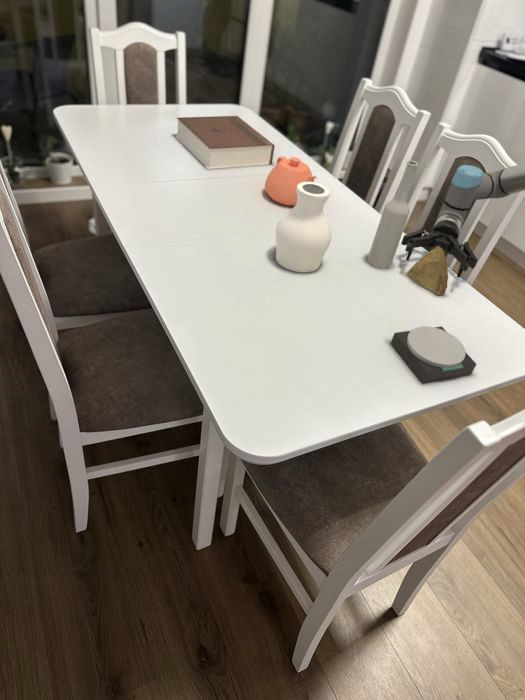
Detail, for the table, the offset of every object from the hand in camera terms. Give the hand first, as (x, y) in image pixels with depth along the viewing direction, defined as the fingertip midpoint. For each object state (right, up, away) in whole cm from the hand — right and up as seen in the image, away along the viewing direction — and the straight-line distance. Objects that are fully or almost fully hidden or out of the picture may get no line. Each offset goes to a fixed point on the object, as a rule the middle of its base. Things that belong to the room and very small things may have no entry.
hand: (434, 264), depth 139 cm
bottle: (-12, +2, +9) cm, 15 cm away
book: (-58, +49, +52) cm, 92 cm away
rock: (-1, -5, +3) cm, 6 cm away
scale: (-7, -24, -20) cm, 32 cm away
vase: (-35, +2, +3) cm, 35 cm away
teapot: (-36, +25, +30) cm, 53 cm away
